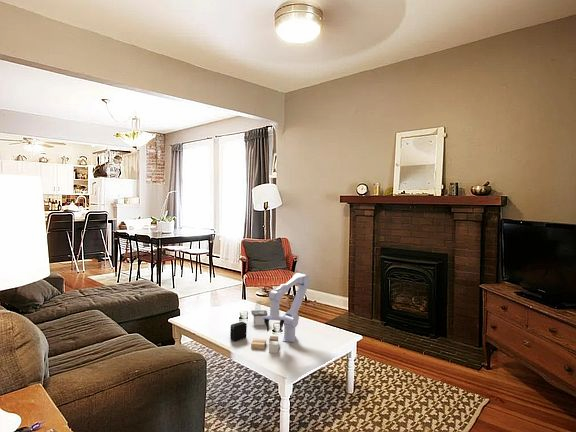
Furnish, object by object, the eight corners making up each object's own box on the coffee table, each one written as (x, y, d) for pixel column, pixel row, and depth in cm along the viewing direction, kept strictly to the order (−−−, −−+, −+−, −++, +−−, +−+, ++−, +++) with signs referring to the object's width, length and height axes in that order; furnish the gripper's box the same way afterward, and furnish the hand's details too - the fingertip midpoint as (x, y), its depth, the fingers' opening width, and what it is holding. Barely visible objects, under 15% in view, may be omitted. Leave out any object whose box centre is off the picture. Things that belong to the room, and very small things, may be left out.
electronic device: (246, 337, 239) (246, 323, 238) (234, 341, 232) (234, 326, 231) (242, 336, 242) (242, 321, 241) (230, 339, 235) (230, 324, 234)
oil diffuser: (274, 318, 280) (275, 296, 279) (278, 329, 257) (278, 306, 256) (241, 318, 277) (241, 296, 276) (241, 330, 253) (242, 306, 252)
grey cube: (269, 348, 223) (270, 340, 223) (278, 349, 223) (278, 341, 222) (268, 352, 218) (269, 344, 218) (277, 352, 218) (277, 344, 217)
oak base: (253, 343, 231) (253, 338, 230) (266, 344, 230) (266, 339, 230) (251, 348, 223) (251, 343, 223) (263, 349, 222) (264, 344, 222)
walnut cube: (270, 343, 231) (270, 335, 231) (278, 344, 231) (278, 336, 230) (269, 346, 226) (269, 338, 226) (277, 347, 226) (277, 339, 225)
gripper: (262, 311, 224) (261, 332, 225) (285, 312, 223) (284, 334, 223) (264, 307, 231) (263, 328, 232) (286, 309, 230) (286, 330, 230)
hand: (274, 331), depth 228 cm, fingers open, 7 cm apart
